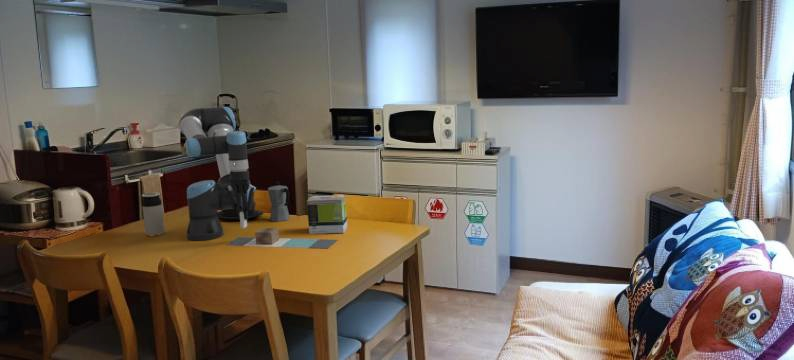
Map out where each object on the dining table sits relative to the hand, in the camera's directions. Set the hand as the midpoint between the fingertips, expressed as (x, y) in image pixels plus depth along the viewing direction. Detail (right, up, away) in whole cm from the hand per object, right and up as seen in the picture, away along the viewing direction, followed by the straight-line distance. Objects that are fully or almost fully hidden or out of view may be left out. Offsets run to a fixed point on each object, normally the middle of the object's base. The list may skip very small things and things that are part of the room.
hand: (244, 227), depth 269 cm
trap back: (-2, -6, +2) cm, 7 cm away
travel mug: (-44, -5, +20) cm, 48 cm away
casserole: (-13, +1, +45) cm, 47 cm away
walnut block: (+10, -6, -1) cm, 12 cm away
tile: (+10, -6, -1) cm, 12 cm away
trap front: (+33, -6, -7) cm, 34 cm away
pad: (+23, -6, -4) cm, 25 cm away
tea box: (+33, -3, +14) cm, 36 cm away
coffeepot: (+9, +1, +37) cm, 38 cm away
